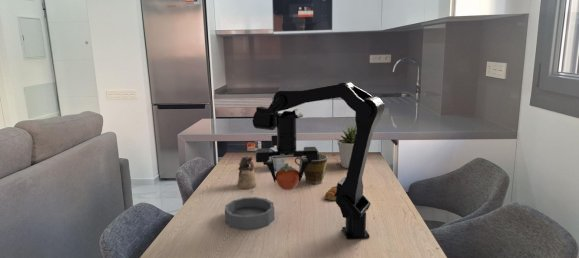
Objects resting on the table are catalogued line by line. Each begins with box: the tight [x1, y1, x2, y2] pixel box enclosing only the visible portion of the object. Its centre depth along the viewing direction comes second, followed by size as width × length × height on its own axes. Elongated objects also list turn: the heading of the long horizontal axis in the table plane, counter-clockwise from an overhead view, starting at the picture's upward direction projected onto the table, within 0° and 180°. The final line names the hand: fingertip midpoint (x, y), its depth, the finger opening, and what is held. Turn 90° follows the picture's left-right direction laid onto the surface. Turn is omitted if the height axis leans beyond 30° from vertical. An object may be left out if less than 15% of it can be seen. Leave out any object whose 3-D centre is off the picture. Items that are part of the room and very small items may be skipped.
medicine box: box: [268, 146, 286, 172], centre depth 171 cm, size 8×4×9 cm, turn 25°
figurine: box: [237, 155, 258, 190], centre depth 150 cm, size 7×7×12 cm
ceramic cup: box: [294, 153, 328, 185], centre depth 155 cm, size 13×10×10 cm
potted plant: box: [335, 124, 357, 169], centre depth 171 cm, size 13×14×20 cm
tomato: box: [275, 162, 300, 191], centre depth 120 cm, size 7×7×8 cm
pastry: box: [324, 185, 337, 201], centre depth 139 cm, size 9×7×4 cm
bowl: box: [224, 196, 275, 231], centre depth 123 cm, size 15×15×4 cm
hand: (287, 181), depth 120 cm, fingers closed on tomato, 7 cm apart
